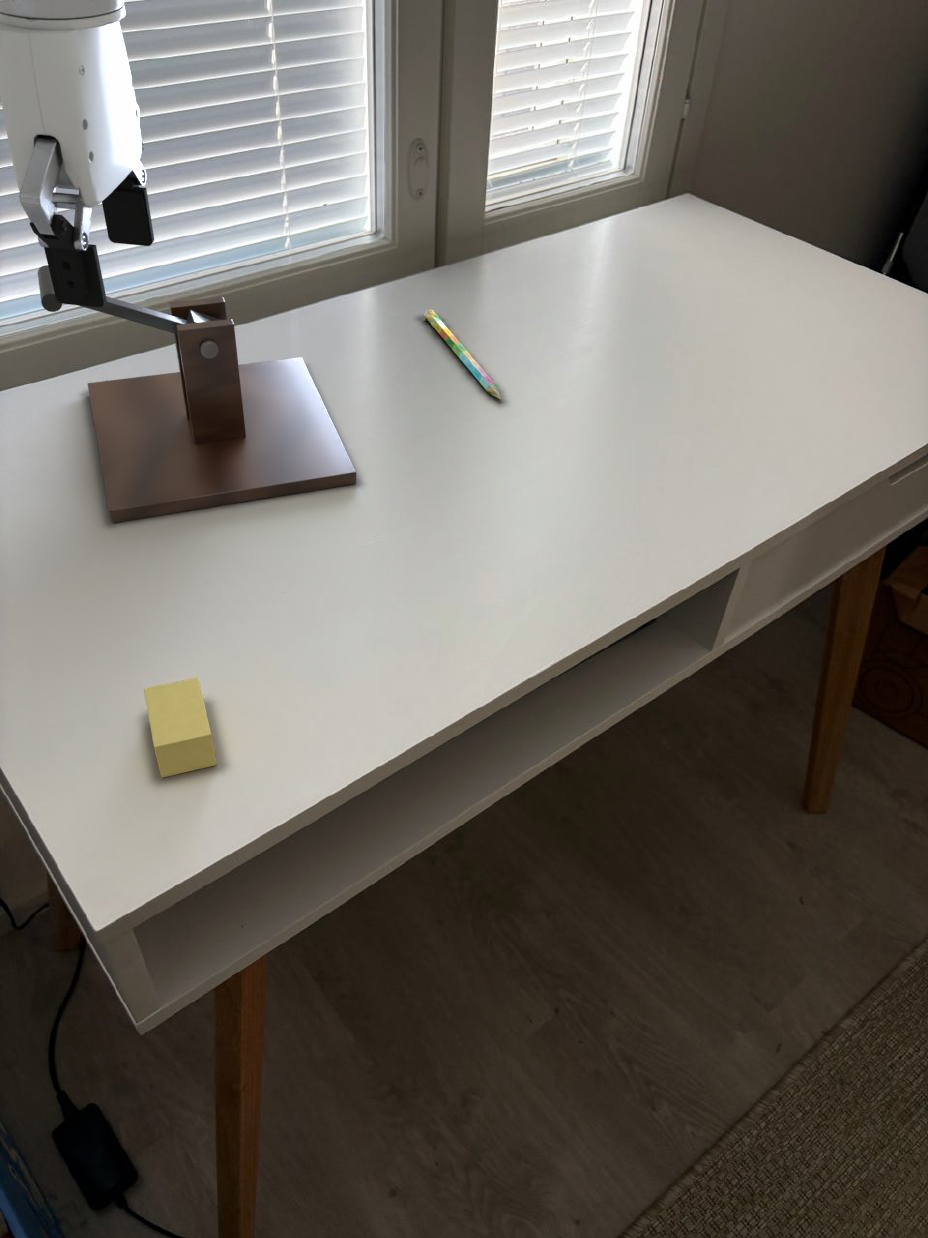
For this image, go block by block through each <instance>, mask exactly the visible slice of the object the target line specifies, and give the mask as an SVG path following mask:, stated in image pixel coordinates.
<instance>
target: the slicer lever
mask: <svg viewBox="0 0 928 1238" xmlns="http://www.w3.org/2000/svg"><path fill="white" fill-rule="evenodd" d="M37 279H38V289H39V295H40V304H41V306H42V308H43V309H44V310H45V311H47V312H51V313H55V312H58V311H60V309H61V308H62V307H63V304H62V303H59V302H58V301H57V300H56V297H55V293H54V289H53V284H52V280H51V276H50V271H49V267H48V264H45V265H42V266H40V267H39V268H38V270H37ZM106 299H107V301H106V303H105V304H104V305H103V306H102V307H90V306H80V305H77V306H79V307H82V308H85V309H89V310H92V311H96V312H99V313H102V314H106V315H108V316H109V315H110V316H112V317H116V318H119V319H123V320H127V321H129V322H134V323H137V324H141V325H144V326H147V327H151V328H153V329H157V330H161V331H165V332H168V333H171V334H174V333H175V334H177V328H176V325H181V324H190V323H199V322H208V321H217V320H222V319H218V318H215V317H212V316H208V315H205V314H202V313H199V312H195V311H192V310H190V311H189V313H188V316H187V319H186V320H185V319H181V318H178V317H175V316H171V314H167V313H164V312H161V311H158V310H154V309H151V308H147V307H144V306H141V305H138V304H134V303H131V302H127V301H124V300H120V299H117V298H115V297H111V296H108V295H106Z"/></svg>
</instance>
